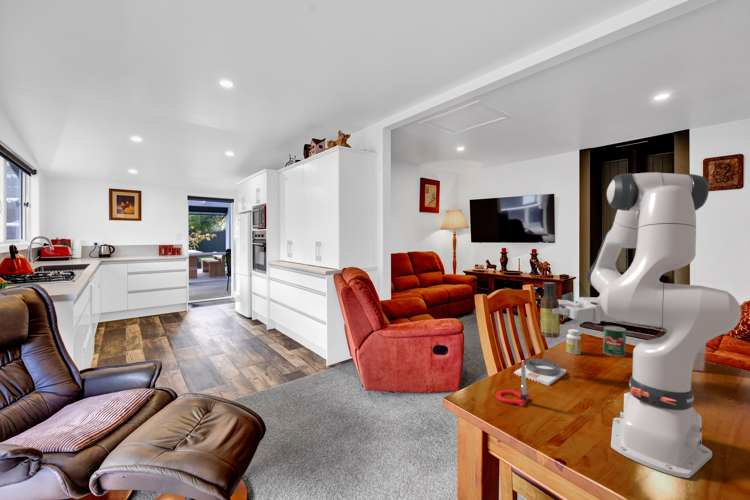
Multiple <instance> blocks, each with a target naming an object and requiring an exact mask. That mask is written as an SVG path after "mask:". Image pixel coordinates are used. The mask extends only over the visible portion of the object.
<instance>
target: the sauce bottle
mask: <svg viewBox="0 0 750 500" xmlns="http://www.w3.org/2000/svg"><path fill="white" fill-rule="evenodd" d="M542 283H543V284H542V285H543V296H542V298H541V300H540V332H541V336H543V337H545V338H548V339H549V338H551V339H557V338H560V333H561V327H560V325H561V323H560V322H561V319H560V316H561V314H553V313H552V312H551V309H552V308H557V309H559V303H558V300H559V299H558V298H557V295H556V283H555V282H542Z"/></svg>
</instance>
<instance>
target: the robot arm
mask: <svg viewBox="0 0 750 500" xmlns="http://www.w3.org/2000/svg"><path fill="white" fill-rule="evenodd" d="M709 191H710V186H709V182H708V181H707V179H706V178H705V177H704V176H702V175H699V174H692V173H685V174H682V173H681V174H680V173H670V172H669V173H668V172H659V171H658V172H657V171H656V172H654V171H653V172H640V173H637V172H636V173H631V172H628V173H621V174H618V175H615V176H614V177H613V178H612V179H611V181H610V183H609V185H608V187H607V189H606V198H607V199H606V200H607V202H608V205H609V206H610V207H611V208H613V209H616V210H617V211H616V213H615V216H614V221H613V224H612V226H611V228H610V229H608V231H607V232H606V234H605V235H604V236H603V237H604V238H603V240H602V242H601V244H600V247H599V250H598V253H597V256H596V258H595V260H594V262H593V264H592V265H591V267H590V268H589V270H588V271H587V273H586V281H587V283H588V284H589V285H591V287H593V288H594V289H595V290H596V291H597V292H598V293H599V296H597V297H590V296H588V297H587V296H579V297H578V298H577V299H576V300H575V301H572V300H567V299H557V300H558V303H559V309H557V308H552V309H551V312H552V313H553V314H560V316H562V315H563V316H565V317H568V318H570V319H572V320H574V321H579V322H589V323H592V324H601V322H602V321H603V322H607V323H622V322H624V323H627V324H632V325H634V324H635V325H640V326H641V325H642V326H649V327H655V328H660V329H665V331H666V332H665V334H664V335H662V336H660V337H656V338H652V339H651V338H650V339H647V340H644V341H641V342H639V343H638V344H636V345H635V347H634V348H633V351H632V374H631V375H630V379H629V382H628V385H629V387H628V388H629V389H628V392H626V393H623V394H624V395H623V411H619V415H618V416H619V417H614V418H613V420H612V426H611V427H612V428H611V437H610V438H611V440H610V447H611V448H612V449H613V450H614V451H616V452H617V453H619V454H621V455H622V456H623V457H626V458H628V459H630V460H632V461H633V462H636V463H638V464H641V465H644V466H646V467H648V468H652V469H654V470H657V471H659V472H661V473H665V474H668V475H671V476H675V477H679V478H685V479H689V478H692V477H693V475H695V474H696V473H697V472H698V471H699V470H700V469H702V467H703V466H704V465H705V464H706V463H707V462H708V461H709V460H710V459H712V458H713V451H712V450H711V449H709V448H708V447H707V446H705V445H704V444H702V443H703V442H702V438H703V436H702V430H703V429H702V428H703V426H702V416H701V415H700V414H699V413H698V412H697V410H695V409H694V407H693V406H694V400H695V394H694V388H692V380H693V379H692V376H693V371H694V370H693V364H694V360H695V357H696V355H697V353H698V351H699V350H700V349H701V348H702V347H703V346H704V345H705V344H706V345H707V343H709V342H710V341H711V340H713V339H716V338H717V337H719V336H721V335H724V334H727V333H729V332H731V331H732V330H734V329H735V328H736V327H737V326H738V324H739V323H740V321H741V317H742V308H741V306H740V303H739V302H738V300H737V299H736V298H735V296H734V295H732V294H731V293H730V292H729V291H727V290H722V289H718V288H713V287H708V286H704V285H694V284H682V283H681V284H680V283H667V282H662V281H660V278H661V276H662V275H664V274H666V273H668V272H671V271H675V270H678V269H681V268H683V267H686V266H688V265H689V264H691V263H692V262H693V261H694V259H695V257H696V252H697V251H696V248H697V244H696V243H697V239H696V238H697V215H696V211H698V210H699V209H700V208H702V207H703V206H704V205H705V203H706V202H707V201H708V200H707V199H708V197H709V193H710V192H709ZM623 248H624V249H636V250H635V254H634V258H633V261H632V262H631V264H630V266H629V267H628V269H627V270H626V271H625V272H624V273H623V274H622V273H620V272H619V271H618V269H617V266H616V262H617V260H618V258H619V255H620V254H621V252H622V249H623Z"/></svg>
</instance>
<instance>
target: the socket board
mask: <svg viewBox="0 0 750 500" xmlns="http://www.w3.org/2000/svg"><path fill="white" fill-rule="evenodd" d="M525 371H526V379H527V378H528V379H527V380H530V379H531V380H530V381H533V380H534V381H533V382H536V381H537V383H539V382H540V384H543V385H545V386H550V385H551V384H553V383H554V382H556V381H557V380H559V379H560V378H561V377H562V376H564V375H565V374H567V369H564V368H561V367H560V365H559V364H558V363H557V362H554V361H552V360H548V359H543V358H528V359H527V360H526V363H525ZM514 374H516V375H515V376H517V375H518V377H520V376H521V367H520V368H518V369H516V370H515V371H514V372H513V375H514Z"/></svg>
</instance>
